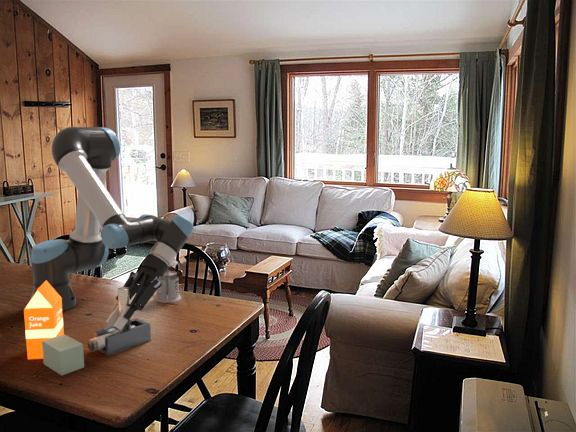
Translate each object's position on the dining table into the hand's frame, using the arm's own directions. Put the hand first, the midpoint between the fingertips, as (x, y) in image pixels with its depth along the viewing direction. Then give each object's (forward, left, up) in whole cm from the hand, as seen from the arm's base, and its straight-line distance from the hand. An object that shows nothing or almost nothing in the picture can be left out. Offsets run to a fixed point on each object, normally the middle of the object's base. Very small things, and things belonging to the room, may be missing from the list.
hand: (113, 326), depth 147 cm
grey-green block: (0, -15, -7) cm, 17 cm away
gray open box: (0, +3, -7) cm, 7 cm away
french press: (-23, +37, -7) cm, 44 cm away
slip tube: (0, 0, -5) cm, 5 cm away
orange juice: (-12, -14, -7) cm, 20 cm away
